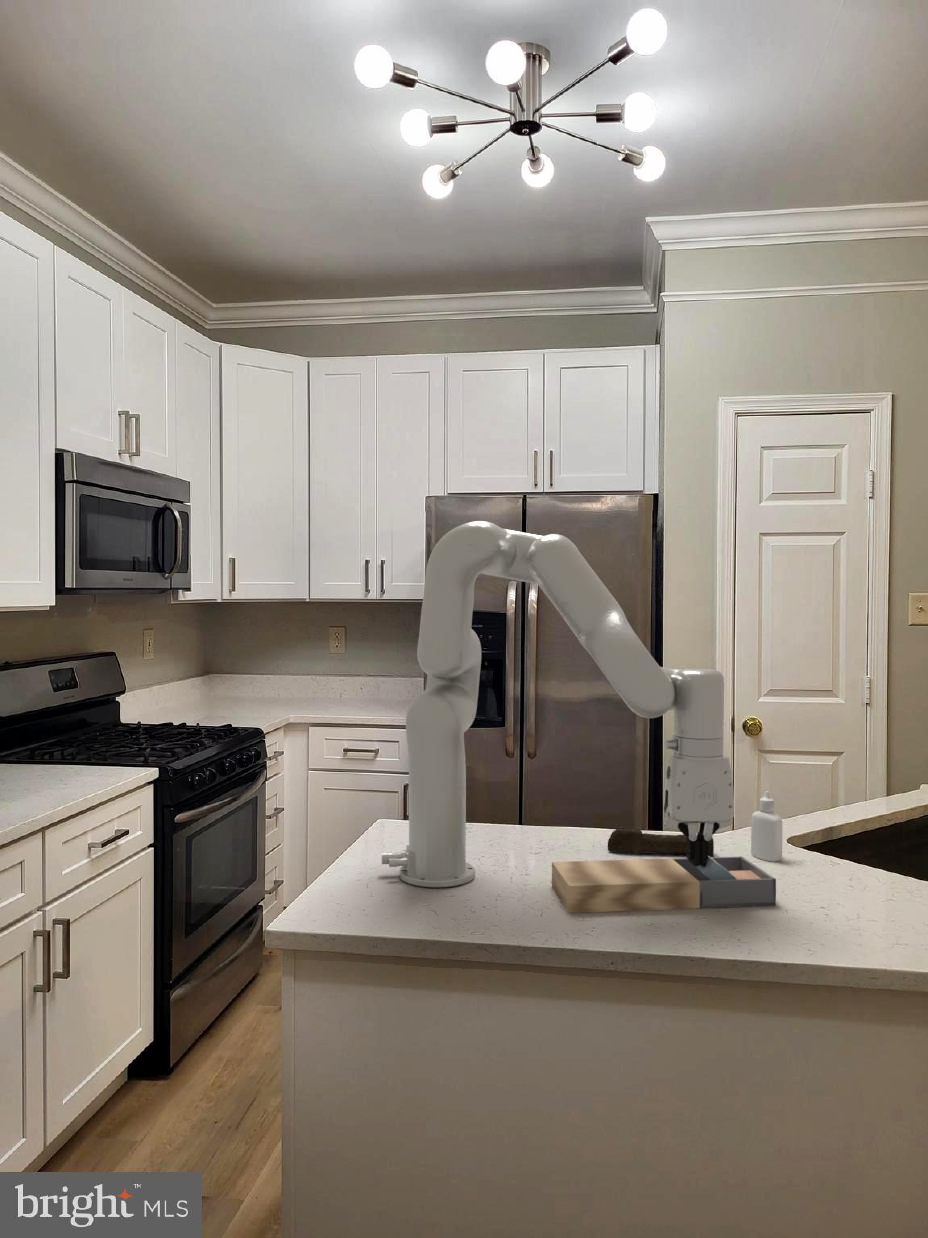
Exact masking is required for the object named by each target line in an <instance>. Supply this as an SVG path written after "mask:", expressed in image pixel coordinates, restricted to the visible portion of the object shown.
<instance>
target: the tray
mask: <svg viewBox="0 0 928 1238" xmlns="http://www.w3.org/2000/svg"><path fill="white" fill-rule="evenodd" d="M711 858H712V859H714V860H715V861H716V862H718V863H719V864H720V865H722V866H723V867H724V868H726V869H727V870H728V871H744V870H750V871H752V872H753V873H755V874H756V875H757V876H759V877H760V878H761V879H737V880H711V879H709V878H708V877H707V876H705V875H704V874H703V873H702V872H701V871H700V870H699V869H698V868H697V867H696V866H694V865H693V864H691V863H690V862H689V860H688V859H687V857H683V858H681V857H680V858H679V857H677V858H672V859H673V860H674V861H675V862H677V863H678V864H679V865H680V866H681V867H683V868H684V869H685V870H686V871H687V872H689V873H690V874H691V875H692V876H693V877H695V878H696V879H697V880H698V881H699V882H700V908H699V909H715V908H716V909H717V908H718V909H721V908H741V907H742V908H745V907H746V908H747V907H774V906H776V904H777V903H776V902H777V879H776V878H775V877H774V876H772V875H770V874H769V873H767V872H766V871H764V870H763V869H761V868H760V867H758V866H757V865H755V864H754V863H752V862H751V861H749V860H748V859H746V858H745V857H743V856H720V857H719V856H718V857H717V856H713V857H711Z"/></svg>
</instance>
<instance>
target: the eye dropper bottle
mask: <svg viewBox="0 0 928 1238" xmlns="http://www.w3.org/2000/svg"><path fill="white" fill-rule="evenodd" d="M774 811H775V799H773V798H772V797H771V795H770V791H764V794H763V797H760V798H759V810H758V811H754V812H753V813H752V814H751V822H750V824H751V825H750V828H751V829H750V830H751V833H750V842H751V843H750V855H751V856H753V857H754V858H756V859H758V860H759V859H760V860H762V861H767V862H771V863H774V862H775V863H776V862H779V861H782V860H783V819H782V818H781V816H779V815H778V814H777V813H776V812H774Z"/></svg>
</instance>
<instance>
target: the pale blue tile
mask: <svg viewBox="0 0 928 1238" xmlns="http://www.w3.org/2000/svg"><path fill="white" fill-rule="evenodd" d="M696 867H697V868H698V869H699V870H700V871H701V872H702V873H703V874H704V875H705V876H707V877H708V878H709V879H711V880H736V879H737V878H735V877H734V876H733V875H732V874H731V873H730V872H729V871H728V870H727V869H726V868H724V867H723V866H722V865H720V864H719V863H718V862H716V861H715V860H714V859H712V858H711V857H710V856H708V859H706V866H701V865H700V866H696Z"/></svg>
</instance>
